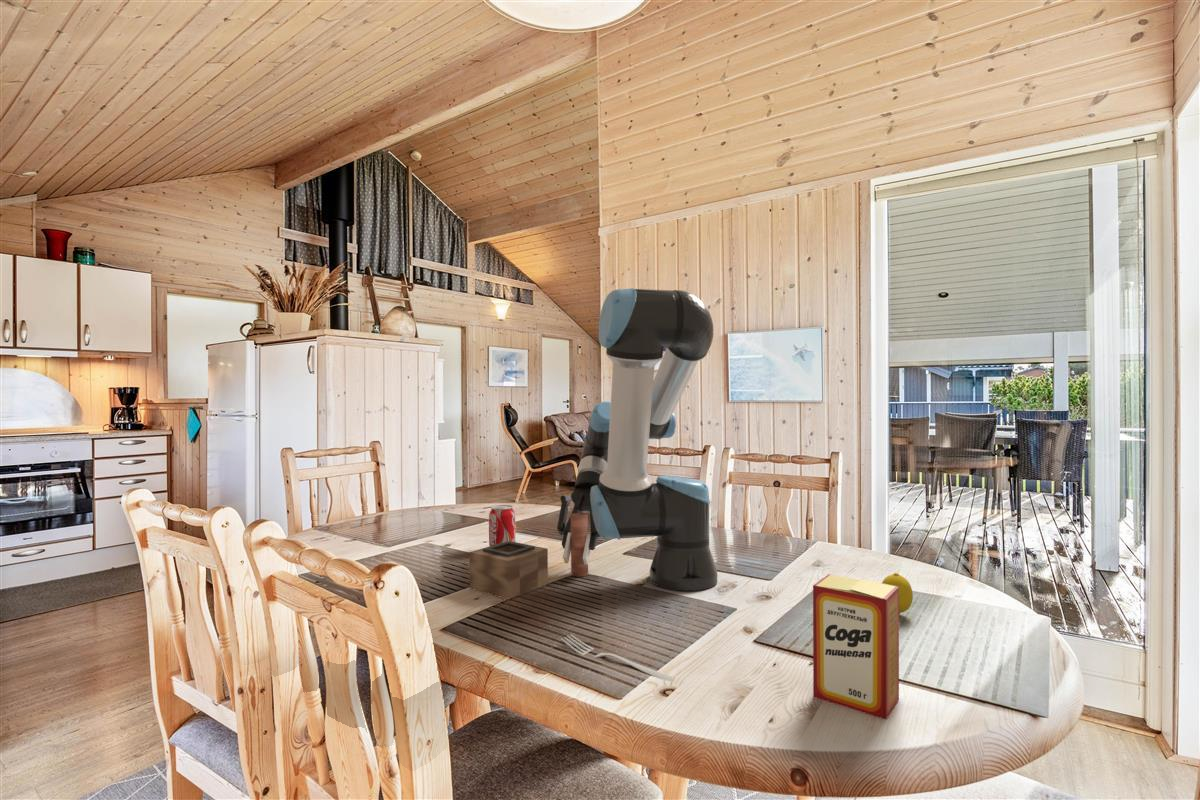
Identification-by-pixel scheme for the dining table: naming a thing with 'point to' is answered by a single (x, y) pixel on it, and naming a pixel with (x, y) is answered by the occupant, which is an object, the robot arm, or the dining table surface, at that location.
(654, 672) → the fork
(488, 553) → the socket block
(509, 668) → the dining table surface
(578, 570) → the peg
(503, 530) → the soda can
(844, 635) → the baking soda box
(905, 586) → the lemon
